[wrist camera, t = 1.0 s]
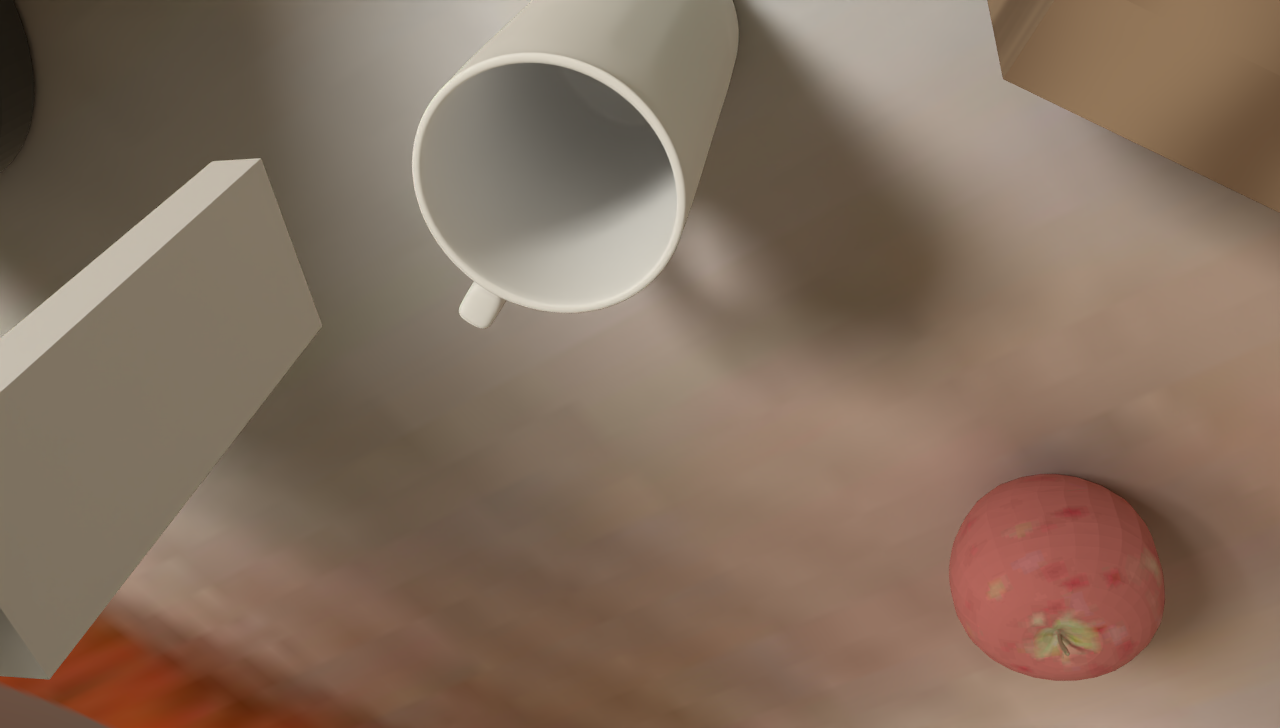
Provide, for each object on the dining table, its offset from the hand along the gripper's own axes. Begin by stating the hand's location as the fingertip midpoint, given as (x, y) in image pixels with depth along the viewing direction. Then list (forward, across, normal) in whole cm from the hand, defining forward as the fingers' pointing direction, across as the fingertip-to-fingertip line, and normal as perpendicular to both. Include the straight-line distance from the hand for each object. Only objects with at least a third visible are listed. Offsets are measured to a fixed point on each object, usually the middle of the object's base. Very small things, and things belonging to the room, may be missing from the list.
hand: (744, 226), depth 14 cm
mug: (+22, -7, -5) cm, 24 cm away
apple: (+22, +8, -24) cm, 34 cm away
